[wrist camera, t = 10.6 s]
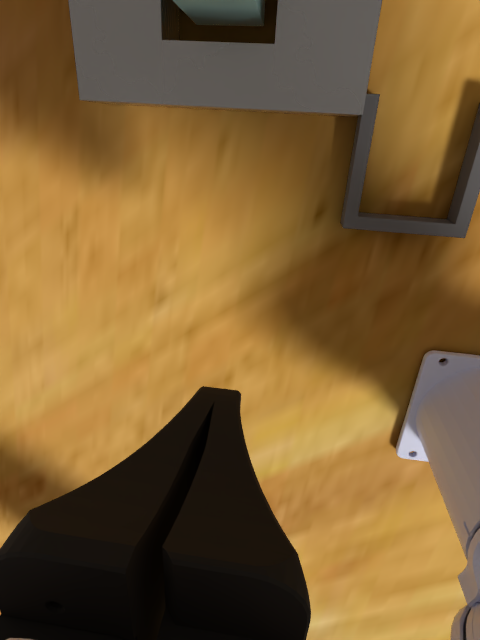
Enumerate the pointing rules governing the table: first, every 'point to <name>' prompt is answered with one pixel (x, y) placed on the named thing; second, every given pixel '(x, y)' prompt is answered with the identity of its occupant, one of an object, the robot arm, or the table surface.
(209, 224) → the table surface
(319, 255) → the table surface
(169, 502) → the robot arm
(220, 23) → the plug
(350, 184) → the holster
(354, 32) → the port panel
